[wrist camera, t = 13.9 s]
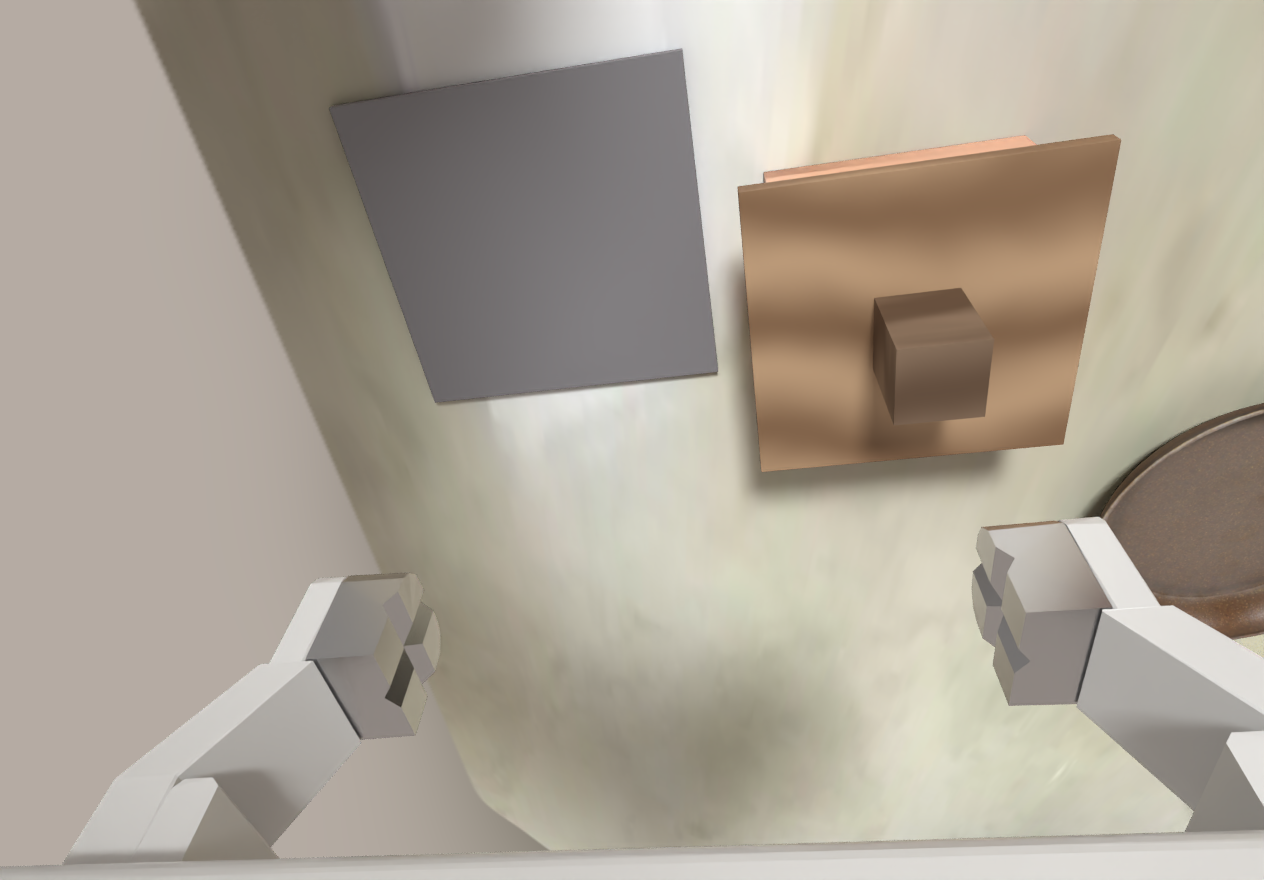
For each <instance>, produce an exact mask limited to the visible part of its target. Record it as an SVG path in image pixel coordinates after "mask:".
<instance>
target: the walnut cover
mask: <svg viewBox="0 0 1264 880" xmlns="http://www.w3.org/2000/svg"><path fill="white" fill-rule="evenodd" d="M1120 144H1121V139H1119V138H1118V137H1116V136H1115V135H1113V134H1112V135H1105V136H1098V137H1091V138H1083V139H1076V140H1069V141H1062V142H1055V143H1047V144H1040V145H1033V146H1026V147H1019V148H1012V149H1004V150H997V151H990V152H983V153H976V154H968V155H961V156H954V157H947V158H940V159H933V160H925V161H918V162H911V163H904V164H897V165H890V166H882V167H875V168H868V169H861V170H854V171H846V172H839V173H832V174H825V175H818V176H811V177H803V178H796V179H789V180H782V181H775V182H767V183H760V184H753V185H746V186H739V187H738V199H739V211H740V223H741V235H742V247H743V259H744V271H745V283H746V295H747V307H748V319H749V331H750V343H751V355H752V367H753V379H754V391H755V403H756V415H757V427H758V440H759V452H760V463H761V471H762V472H767V471H778V470H788V469H799V468H810V467H821V466H832V465H843V464H854V463H865V462H876V461H887V460H898V459H909V458H920V457H931V456H942V455H952V454H963V453H974V452H985V451H996V450H1007V449H1018V448H1029V447H1040V446H1051V445H1062V444H1063V443H1064V438H1065V432H1066V427H1067V422H1068V417H1069V411H1070V406H1071V401H1072V396H1073V390H1074V385H1075V380H1076V375H1077V369H1078V364H1079V359H1080V354H1081V348H1082V343H1083V338H1084V333H1085V327H1086V322H1087V317H1088V312H1089V306H1090V301H1091V296H1092V291H1093V285H1094V280H1095V275H1096V270H1097V264H1098V259H1099V254H1100V249H1101V243H1102V238H1103V233H1104V228H1105V222H1106V217H1107V212H1108V207H1109V201H1110V196H1111V191H1112V186H1113V180H1114V175H1115V170H1116V165H1117V159H1118V154H1119V149H1120Z"/></svg>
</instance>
